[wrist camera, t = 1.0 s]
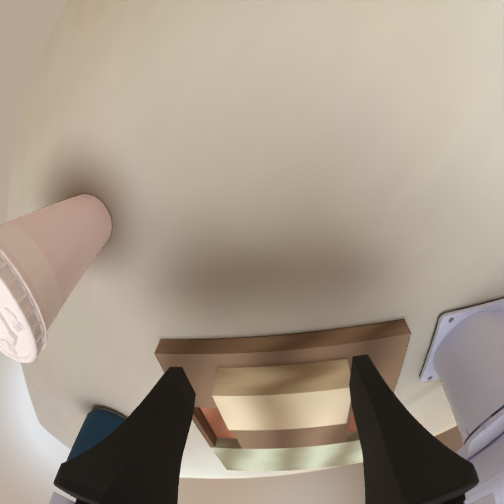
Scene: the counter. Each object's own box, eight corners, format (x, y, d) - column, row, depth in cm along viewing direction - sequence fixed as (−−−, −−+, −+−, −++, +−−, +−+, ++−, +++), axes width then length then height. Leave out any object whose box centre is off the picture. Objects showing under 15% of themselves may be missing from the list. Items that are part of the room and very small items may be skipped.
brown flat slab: (404, 319, 18) (411, 332, 17) (364, 452, 29) (365, 461, 27) (160, 339, 21) (154, 353, 19) (228, 460, 31) (227, 469, 30)
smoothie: (77, 152, 14) (-125, 263, 2) (149, 219, 16) (-17, 422, 4) (44, 223, 17) (-93, 343, 4) (104, 281, 19) (-8, 441, 6)
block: (347, 358, 18) (353, 386, 16) (342, 397, 20) (346, 423, 18) (218, 368, 19) (212, 395, 17) (232, 405, 22) (228, 430, 19)
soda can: (83, 408, 29) (51, 478, 19) (105, 400, 27) (68, 483, 16) (123, 435, 31) (99, 503, 21) (150, 430, 29) (125, 511, 18)
